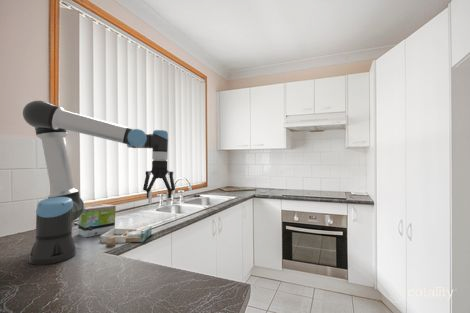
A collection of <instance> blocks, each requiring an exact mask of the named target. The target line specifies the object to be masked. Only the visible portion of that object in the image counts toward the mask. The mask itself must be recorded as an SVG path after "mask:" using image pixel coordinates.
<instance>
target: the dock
mask: <svg viewBox="0 0 470 313" xmlns="http://www.w3.org/2000/svg"><path fill="white" fill-rule="evenodd" d="M127 231H137V228H131V227H130V228H129V227H128V228H127V227H125V228H121V227H115V228H113V229H112V230H110V231H108V232H106V233H105V234H100V235H99V243H106V241H107V238H108V237H115V244H116V243H117V244H119V243H120V244H121V243H123V244H126V242H127V241H126V236H121V235H123V234H124V233H126V232H127Z"/></svg>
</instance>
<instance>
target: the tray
mask: <svg viewBox="0 0 470 313" xmlns="http://www.w3.org/2000/svg"><path fill="white" fill-rule="evenodd" d="M139 231H140V232H142V234H141V237H139V238H138V237H127V233H128V232H132V231H127V232H126V233H124V234H120V236H126V242H127V243H129V242H140V243H144V242H145V240H147V239H148V238H149V237H150V236H152V226H149V227H147V229H145V230H139Z"/></svg>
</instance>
